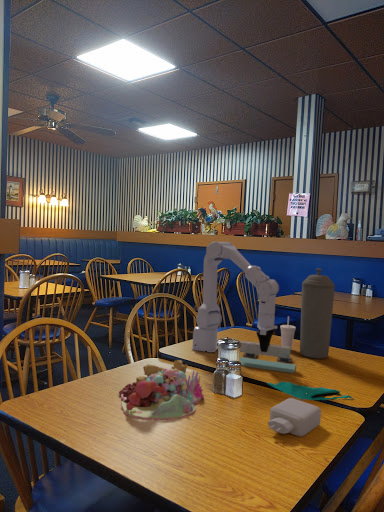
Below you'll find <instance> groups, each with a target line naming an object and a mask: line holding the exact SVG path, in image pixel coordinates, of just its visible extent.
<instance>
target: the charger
mask: <svg viewBox="0 0 384 512" xmlns="http://www.w3.org/2000/svg"><path fill="white" fill-rule="evenodd" d="M269 411H270V412H269V413H270V414H269V421H268V422H267V425H268V426H269V430H273V431H274V432H277V433H280V434H283V435H284V434H289V433H290V434H292V435H295V436H297V437H304V436H306V435H307V434H308V433H310V432H311V431H312V430H314V429H315V428H316V427H318V426H319V425H320V424H321V421H322V420H321V417H322V416H321V415H322V410H321V408H320V407H318V406H316V405H314V404H311V403H308V402H305V401H303V400H300V399H297V398H294V397H289V398H287V399H285V400H283V401H281V402H280V403H278V404H276V405H274V406H273V407H271V408H270V410H269Z"/></svg>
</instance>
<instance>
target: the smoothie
mask: <svg viewBox="0 0 384 512" xmlns="http://www.w3.org/2000/svg"><path fill="white" fill-rule="evenodd" d="M289 324H290V316H289V315H288V316H287V324H282V325H280V326H279V327H280V334H281V335H280V336H281V346H289V347H291V349H290V351H292V347H293V342H294V336H295V331H296V330H297V329H296V326H294V325H291V324H290V325H289Z"/></svg>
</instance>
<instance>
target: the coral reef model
mask: <svg viewBox="0 0 384 512" xmlns="http://www.w3.org/2000/svg"><path fill="white" fill-rule="evenodd" d="M187 367H188V364H184V363H183V361H182V360H181V359H180V360H179V359H176V360H174V361H173V365H172V366H171V368H166V367H165V368H163V367H161V366H157V365H154V364H150V363H149V364H146V365H144V366H143V373H144V376H142V375H140V376H136V378H135V380H136V381H133V382H132V383H127V384H126V385H125V386H124V387H123V388H122V389H121V390H120V391H119V392H118V394H119V397H120V400H122V401H121V403H120V406H121V410H122V411H123V413H124V414H125V415H126V416H128V417H132V418H135V419H139V420H140V419H142V420H149V421H150V420H154V421H161V420H162V421H170V420H177V419H178V420H179V419H180V420H181V419H182V418H186V417H188V416H191V415H193V414H194V413H196V406H195V405H196V404H198V403H200V402H201V401H202V400H203V399H204V396H205V395H204V394H203V391H204V390H203V389H202V385H201V384H200V382H201V375H199V372H198V371H196V372H195V370H193V371H192V375H190V374H189V375H188V378H187V374H186V373H187ZM146 376H147V377H146Z"/></svg>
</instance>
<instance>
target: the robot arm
mask: <svg viewBox="0 0 384 512" xmlns="http://www.w3.org/2000/svg"><path fill="white" fill-rule="evenodd" d="M224 260H230V261H232V262H233V263H234V264H235V265H236V266H238V267H239V268H240V270H242V271H243V272H244V277H245V278H246V279H247V281H249V282H250V283H251V285H253V286H254V288H256V292H257V294H258V301H259V302H258V314H257V316H258V317H257V325H256V327H257V328H258V330H256V335H257V338H258V341H259V342H258V343H260V350H261V352H267V350H268V346H269V344H271V341H272V340H271V339H272V337H273V335H274V333H275V330H277V329H278V325H275V317H276V316H275V313H276V300H277V299H276V297H277V294H278V293H279V291H280V285H279V283H278V282H277V281H276V279H270V276H269V275H267V274H266V273H264V272H263V271H262V268H261V267H260V266H258V265H252V264H251V263H250V262H249V261H248V260H247V259H246V258H245V257H244V256H243V255H242V253H241V252H240V251H239V250H238V249H237V247H236V246H235V245H234V244H233V243H231V242H230V241H215V240H214V241H212V242H210V243H209V244H208V245H207V246H206V253H205V255H204V258H203V282H202V283H203V285H202V287H203V288H202V304H201V305H200V306H199V307H198V309H197V315H196V319H195V320H196V324H197V325H196V326H195V327H194V329H193V333H192V347H191V350H192V351H199V352H205V351H207V352H206V353H212V352H215V351H216V350H217V347H218V346H217V345H218V342H217V341H218V328H219V325H220V324H221V322H222V318H223V317H222V314H221V308H220V306H219V304H217V300H218V299H217V298H218V297H217V296H218V293H217V292H218V291H217V290H218V265H219V264H221V262H223V261H224ZM217 351H218V350H217ZM217 351H216V352H217ZM216 352H215V353H216Z"/></svg>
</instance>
